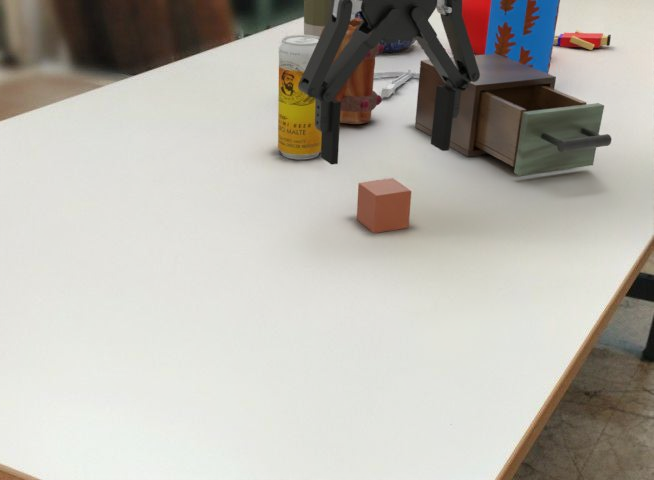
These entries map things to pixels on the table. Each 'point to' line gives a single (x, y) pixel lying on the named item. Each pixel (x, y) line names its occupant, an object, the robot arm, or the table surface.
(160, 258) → the table surface
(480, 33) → the vase
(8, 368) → the table surface
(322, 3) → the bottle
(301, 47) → the beer can
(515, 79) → the cabinet
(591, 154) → the drawer
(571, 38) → the toy figure
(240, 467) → the table surface
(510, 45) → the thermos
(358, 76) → the mug
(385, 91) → the crossbow
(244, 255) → the table surface
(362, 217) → the block
